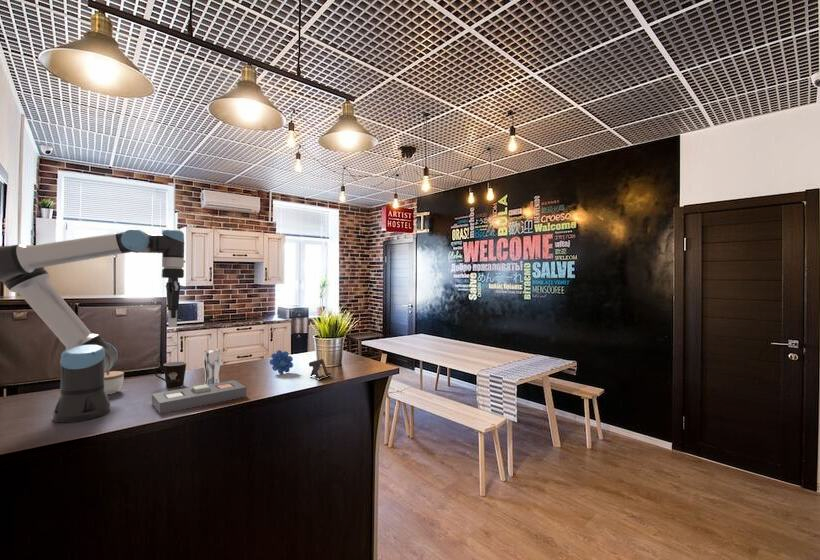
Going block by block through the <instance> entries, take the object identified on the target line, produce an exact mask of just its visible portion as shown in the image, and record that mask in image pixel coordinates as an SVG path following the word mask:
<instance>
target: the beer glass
mask: <svg viewBox="0 0 820 560" xmlns="http://www.w3.org/2000/svg"><path fill="white" fill-rule="evenodd" d="M221 356H222V355H221V350H220V349H207V350H204V351H203V369H204V375H205V379H204V384H203V385H205V384H206V385H208V384H214V383H220V377H219V374H220V368H221V360H222V359H221V358H222V357H221Z"/></svg>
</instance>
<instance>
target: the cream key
mask: <svg viewBox="0 0 820 560" xmlns="http://www.w3.org/2000/svg"><path fill="white" fill-rule="evenodd" d="M179 396H184V395H183V394H182V393H180V392H179V393H173V394H168V395H165V397H166V398H173V397H179Z"/></svg>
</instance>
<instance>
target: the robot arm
mask: <svg viewBox="0 0 820 560" xmlns="http://www.w3.org/2000/svg"><path fill="white" fill-rule="evenodd" d="M128 253H136V254H138V253H141V254H142V253H144V254H147V253H148V254H162V258H161V267H162V269H161V277H162V278H163V279H164V278H165V279H168V280H167V282H166V284H165V289H166V307H167V308H166V309H167V311H168V313H167V314H168V316H167V317H168V319H167V320H168V321H167V323H168V325H167V326H168V327H177V325H178V309H179V308H180V306H179V303H180V290H181V285H180V282H179V279H183V278H184V276H185V273H184V272H185V270H184V269H183V268H184V267H185V266H184V265H185V263H186V260H185V257H184V256H185V233H184V232H183V231H182V230H178V229H163V230H162V233H159V234H154V233H153V234H152V233H146V232H144V231H143V230H141V229H135V228H134V229H128V230H126V231H123V232H122V231H121V232H116V233H109V234H100V235H96V236H86V237H81V238H76V239H74V238H73V239H68V240H62V241H61V240H60V241H54V242H48V243H41V244H35V245H27V246H26V245H24V244H22V243H21V244H12V245H4V246H0V282H1V283H2V284H3V285H4V286H5V288H6V289H8V290H9V292H12V293H17V294H19V295H20V297H22V298H23V300H24V301H25V302H26V303H27V304H28V305H29V307H30V308H31V309H32V310H33V311H34V313H36V315H38V317H39V318H40V319H41V320H42V321H43V322H44V324H45V325H46V326H47V327H48V328H49V330H50V331H51V332H52V333H53V334H54V336H56V337H57V339H58V340H59V341H60V342H61V343H62V344H63V346H65V350H63V351H62V352H61V355H60V359H59V364H60V388H59V389H60V391H59V393H60V396H59V398H58V401H57V403H56V405H55V408H54V410H53V413H52V420H53V422H56V423H62V424H63V423H64V424H65V423H66V424H67V423H76V422H83V421H88V420H92V419H96V418H99V417H102V416H104V415H107V414H108V413H110V412H111V403H110V400H109V397H108V395H106V393H105V390H104V374H105V373H106V372H107V371H109V372H110V370H111V369H113V367H114V366H115V365H116V363H117V360H118V355H119V354H118V351H117V349H116V347H114V345H113V344H111V343H109V342H106V341H105V339H104V338H103V337H102V336H101V335H100V334H99V333H93V332H91V330H89V328H88V327H87V326H86V324H85V323H84V322H83V321H82V320H81V318H79V316H78V315H77V314H76V312H75V311H74V310H73V309H72V308H71V306H70V305H69V304H68V303H67V302H66V301H65V300H64V298H63V297H62V296H61V295H60V293H59V292H58V291H57V289H55V287H54V286H53V285H52V284H51V282H49V279H50V273H49V272H48V271H47V270H46V269H45V267H46V268H47V267H48V268H49V267H52V266H56V265H57V266H58V265H65V264H70V263H75V262H76V263H77V262H81V261H87V260H92V259H93V260H94V259H99V258H104V257H110V256H115V255H122V254H128Z"/></svg>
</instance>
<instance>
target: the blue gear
mask: <svg viewBox="0 0 820 560" xmlns="http://www.w3.org/2000/svg"><path fill="white" fill-rule="evenodd" d="M270 356H271V359H270V360H269V364H270V365H271V366H272V367H271V369H272V371H274V372H276V371H277V372H278V374H280V373H282V374H284V372H285V373H287V372H288V373H289V372H290V371H291V370H290V369H292V368H293V367H294V363H293V356H291V355H289V352H288V351H282V350H280V349H279V350H277V351H276V353H275V352H273V353H272V354H271V355H270Z"/></svg>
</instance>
